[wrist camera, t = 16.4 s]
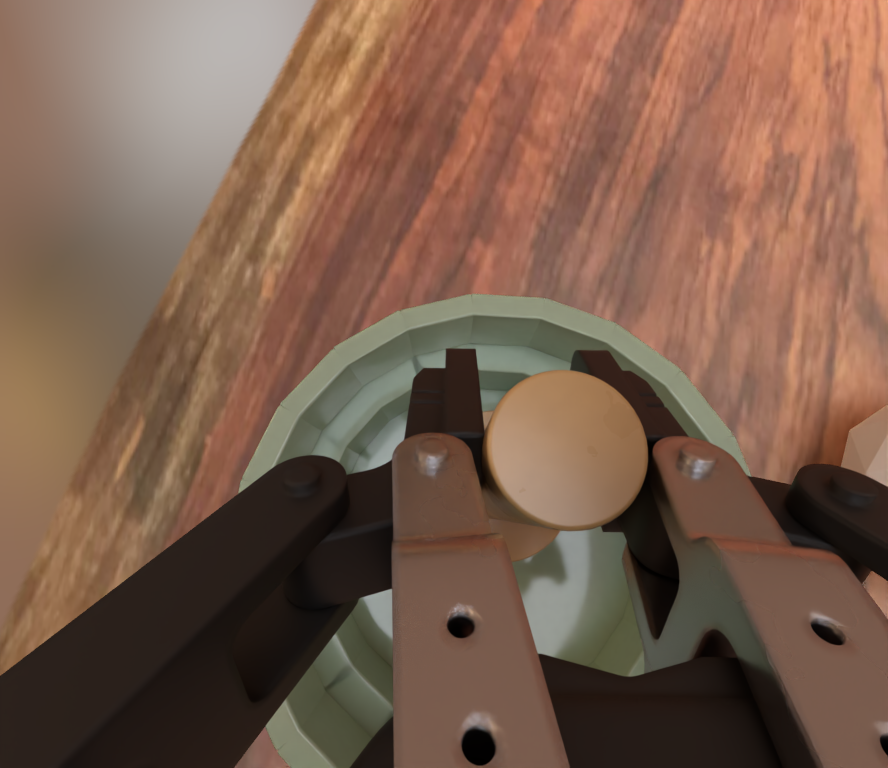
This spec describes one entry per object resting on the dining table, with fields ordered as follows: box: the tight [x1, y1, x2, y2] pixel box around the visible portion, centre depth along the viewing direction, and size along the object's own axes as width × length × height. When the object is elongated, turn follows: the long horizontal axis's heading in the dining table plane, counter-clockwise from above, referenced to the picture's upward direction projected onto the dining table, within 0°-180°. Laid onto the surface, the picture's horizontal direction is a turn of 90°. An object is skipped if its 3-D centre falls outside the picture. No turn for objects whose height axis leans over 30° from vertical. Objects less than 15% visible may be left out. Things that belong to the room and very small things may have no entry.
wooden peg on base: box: [481, 370, 648, 562], centre depth 12 cm, size 5×5×12 cm
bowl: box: [238, 294, 751, 768], centre depth 16 cm, size 16×16×6 cm
